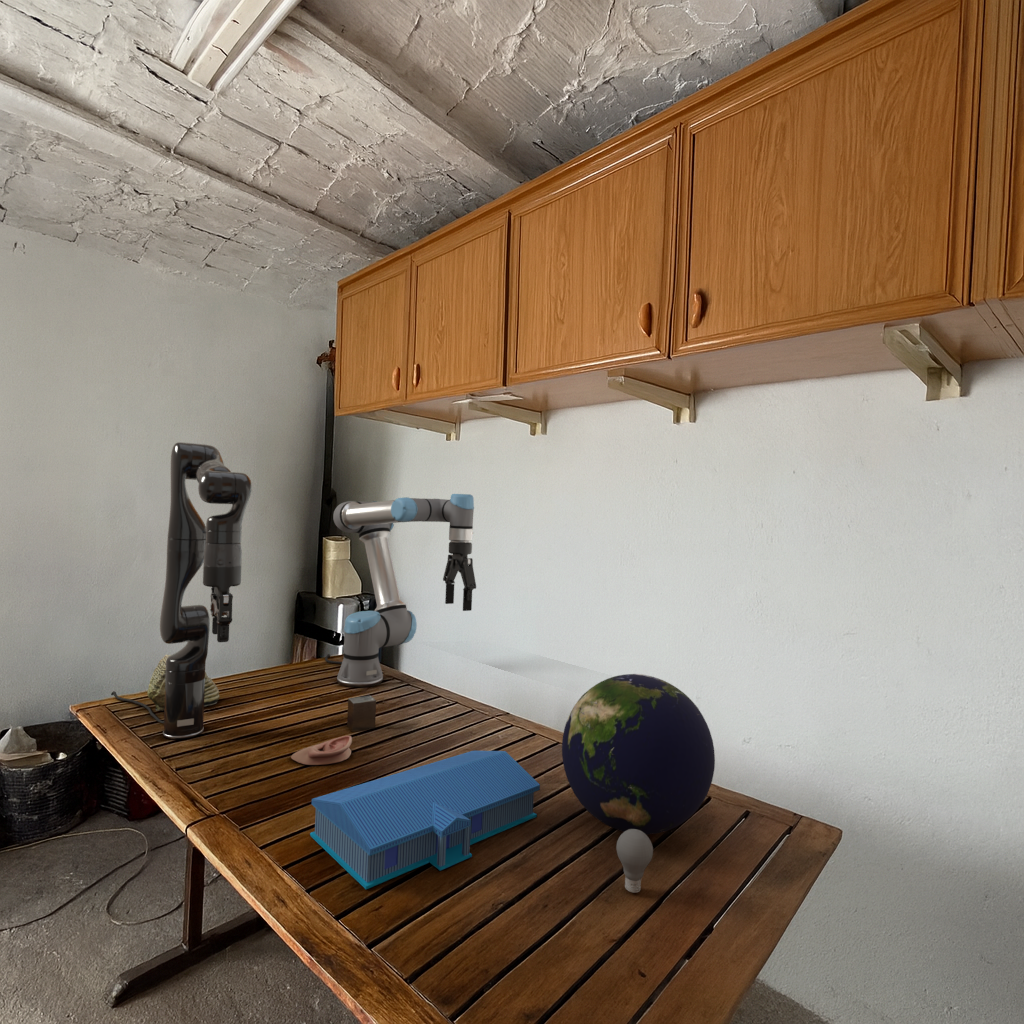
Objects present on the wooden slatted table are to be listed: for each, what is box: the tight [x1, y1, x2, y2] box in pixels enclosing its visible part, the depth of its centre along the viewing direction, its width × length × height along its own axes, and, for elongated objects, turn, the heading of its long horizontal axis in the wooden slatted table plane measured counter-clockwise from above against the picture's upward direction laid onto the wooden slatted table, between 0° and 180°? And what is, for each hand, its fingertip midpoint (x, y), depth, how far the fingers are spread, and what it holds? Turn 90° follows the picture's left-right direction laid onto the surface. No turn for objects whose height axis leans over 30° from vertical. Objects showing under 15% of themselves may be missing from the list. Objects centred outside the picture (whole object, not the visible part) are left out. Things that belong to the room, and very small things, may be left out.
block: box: [346, 695, 377, 733], centre depth 174 cm, size 5×6×8 cm
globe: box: [561, 673, 716, 836], centre depth 127 cm, size 30×30×30 cm
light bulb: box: [615, 829, 654, 894], centre depth 106 cm, size 6×6×10 cm
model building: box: [309, 750, 541, 890], centre depth 123 cm, size 39×24×10 cm, turn 132°
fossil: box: [147, 654, 221, 712], centre depth 185 cm, size 9×18×15 cm, turn 132°
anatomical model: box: [290, 735, 353, 766], centre depth 154 cm, size 13×4×12 cm
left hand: (220, 637), depth 138 cm, fingers open, 8 cm apart
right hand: (458, 607), depth 205 cm, fingers open, 13 cm apart
